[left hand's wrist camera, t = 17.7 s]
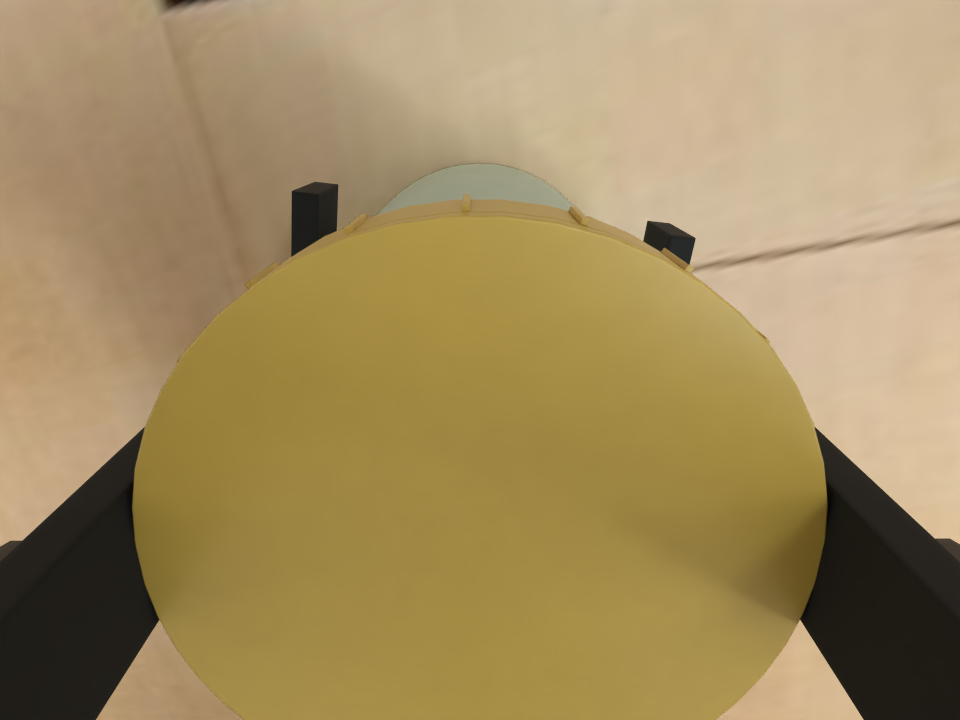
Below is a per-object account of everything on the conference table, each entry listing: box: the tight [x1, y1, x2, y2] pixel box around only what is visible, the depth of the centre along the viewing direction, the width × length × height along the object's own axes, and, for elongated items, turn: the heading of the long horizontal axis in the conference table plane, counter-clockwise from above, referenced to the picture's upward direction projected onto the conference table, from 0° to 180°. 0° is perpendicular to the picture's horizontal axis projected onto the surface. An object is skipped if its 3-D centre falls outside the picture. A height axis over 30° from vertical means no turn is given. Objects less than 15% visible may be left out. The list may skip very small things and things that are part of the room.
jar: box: [377, 163, 575, 215], centre depth 19 cm, size 10×10×17 cm
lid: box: [132, 194, 828, 720], centre depth 11 cm, size 11×11×2 cm
